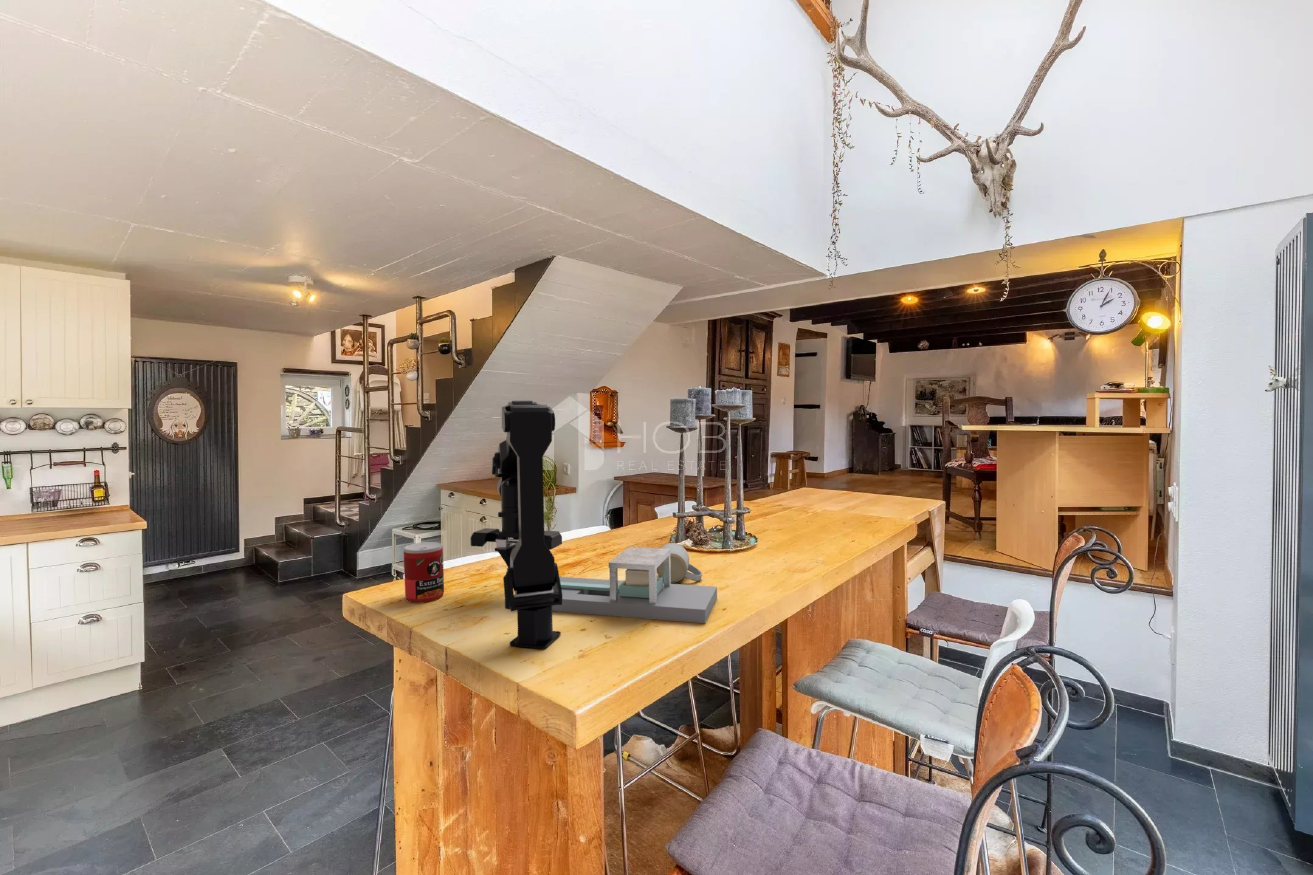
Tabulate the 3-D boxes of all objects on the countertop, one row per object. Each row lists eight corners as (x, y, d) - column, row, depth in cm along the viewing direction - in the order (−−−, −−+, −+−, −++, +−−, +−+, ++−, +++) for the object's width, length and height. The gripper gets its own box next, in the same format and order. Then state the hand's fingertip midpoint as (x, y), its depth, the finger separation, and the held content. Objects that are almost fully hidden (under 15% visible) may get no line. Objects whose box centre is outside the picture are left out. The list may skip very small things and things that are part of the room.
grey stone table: (655, 604, 104) (654, 564, 103) (609, 601, 106) (608, 562, 106) (671, 584, 116) (670, 548, 116) (630, 581, 118) (629, 546, 118)
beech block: (650, 597, 108) (650, 571, 108) (625, 595, 109) (625, 570, 109) (657, 589, 113) (656, 565, 113) (633, 588, 114) (633, 563, 114)
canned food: (418, 605, 113) (416, 552, 112) (397, 598, 118) (396, 546, 117) (452, 595, 119) (450, 544, 118) (431, 589, 124) (429, 540, 123)
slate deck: (705, 623, 101) (705, 609, 101) (513, 607, 111) (513, 595, 111) (717, 598, 114) (716, 586, 114) (545, 586, 124) (545, 575, 124)
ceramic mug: (654, 584, 125) (655, 550, 124) (657, 574, 133) (657, 542, 133) (702, 585, 124) (702, 551, 124) (701, 575, 132) (701, 543, 132)
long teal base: (654, 598, 107) (653, 580, 107) (528, 589, 114) (528, 572, 113) (663, 587, 113) (662, 570, 113) (544, 579, 120) (543, 563, 120)
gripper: (571, 501, 123) (573, 571, 123) (496, 499, 128) (497, 566, 128) (549, 509, 112) (551, 586, 113) (467, 506, 117) (469, 580, 117)
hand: (517, 578), depth 118 cm, fingers closed
